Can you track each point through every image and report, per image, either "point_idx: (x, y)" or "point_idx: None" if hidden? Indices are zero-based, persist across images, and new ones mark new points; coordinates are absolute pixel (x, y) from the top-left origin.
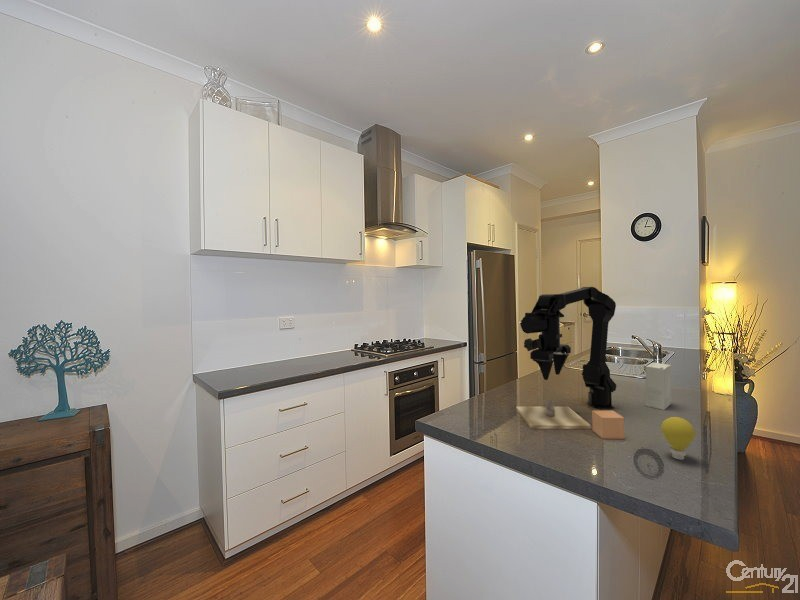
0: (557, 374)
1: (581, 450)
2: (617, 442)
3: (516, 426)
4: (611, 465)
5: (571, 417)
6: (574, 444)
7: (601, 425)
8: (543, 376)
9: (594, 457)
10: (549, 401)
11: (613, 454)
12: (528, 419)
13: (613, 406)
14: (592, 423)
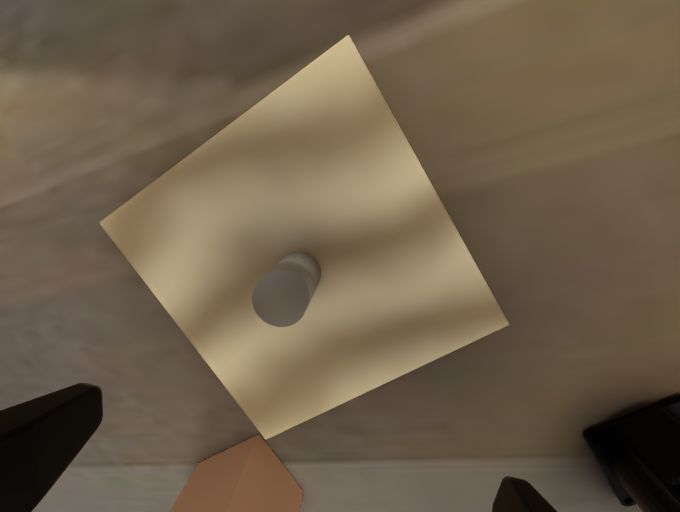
0: (496, 496)
1: None
2: None
3: (91, 152)
4: None
5: (324, 364)
6: None
7: (173, 508)
8: (19, 411)
9: None
10: (287, 294)
11: (97, 488)
12: (167, 188)
13: (632, 504)
14: (249, 457)
